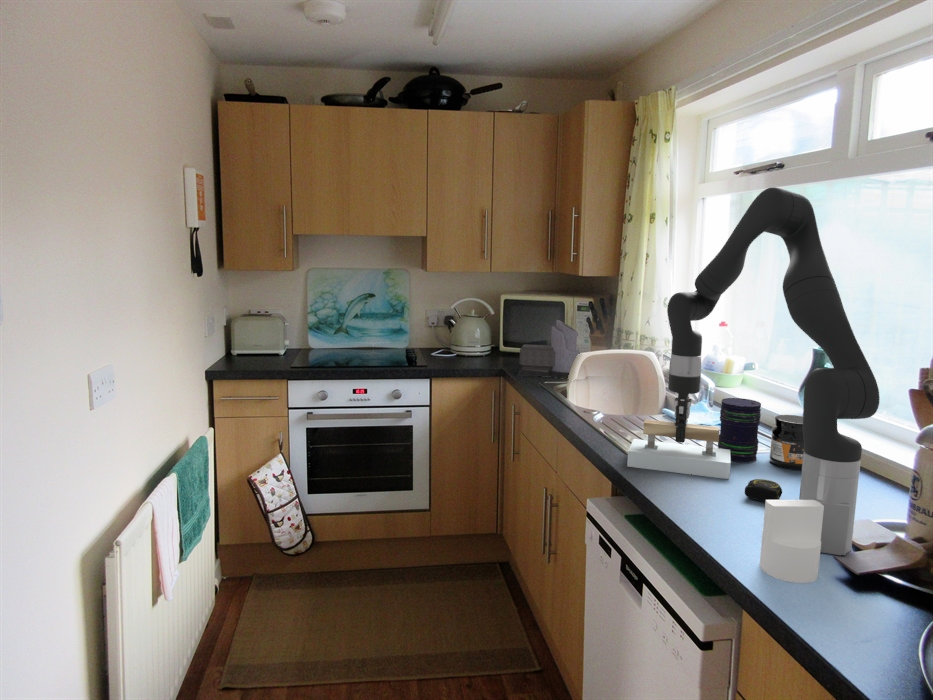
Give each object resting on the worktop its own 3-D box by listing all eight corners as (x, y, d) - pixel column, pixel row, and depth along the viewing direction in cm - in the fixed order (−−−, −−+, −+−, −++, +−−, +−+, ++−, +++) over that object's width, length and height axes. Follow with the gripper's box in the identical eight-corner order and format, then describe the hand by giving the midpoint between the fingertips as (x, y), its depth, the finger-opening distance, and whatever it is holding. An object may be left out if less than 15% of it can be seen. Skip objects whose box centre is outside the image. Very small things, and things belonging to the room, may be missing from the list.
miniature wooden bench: (717, 456, 165) (719, 430, 164) (642, 447, 171) (643, 422, 170) (717, 452, 168) (719, 426, 167) (643, 443, 174) (645, 419, 173)
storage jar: (714, 458, 176) (718, 403, 174) (719, 449, 185) (723, 396, 183) (755, 465, 172) (760, 408, 169) (758, 455, 180) (763, 400, 178)
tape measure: (742, 500, 147) (743, 483, 147) (752, 491, 153) (753, 476, 152) (775, 508, 143) (776, 491, 142) (784, 499, 148) (786, 483, 148)
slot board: (729, 479, 160) (730, 463, 160) (627, 466, 169) (628, 451, 168) (729, 464, 171) (730, 449, 171) (633, 453, 180) (633, 438, 179)
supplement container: (768, 467, 170) (772, 421, 168) (769, 455, 180) (773, 412, 178) (814, 473, 166) (819, 426, 164) (813, 461, 175) (817, 417, 173)
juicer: (587, 374, 296) (589, 319, 293) (586, 381, 281) (589, 322, 277) (519, 370, 302) (521, 316, 298) (515, 377, 286) (516, 320, 283)
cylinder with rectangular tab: (800, 558, 119) (806, 493, 117) (829, 583, 110) (836, 513, 109) (750, 558, 119) (755, 493, 117) (775, 583, 110) (781, 513, 108)
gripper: (699, 378, 159) (695, 449, 161) (701, 369, 172) (697, 434, 174) (666, 376, 161) (662, 445, 164) (671, 366, 174) (667, 431, 177)
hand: (680, 439), depth 169 cm, fingers closed on miniature wooden bench, 3 cm apart
